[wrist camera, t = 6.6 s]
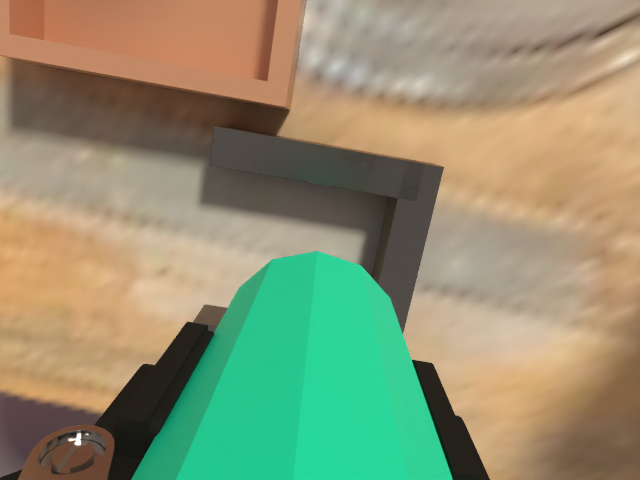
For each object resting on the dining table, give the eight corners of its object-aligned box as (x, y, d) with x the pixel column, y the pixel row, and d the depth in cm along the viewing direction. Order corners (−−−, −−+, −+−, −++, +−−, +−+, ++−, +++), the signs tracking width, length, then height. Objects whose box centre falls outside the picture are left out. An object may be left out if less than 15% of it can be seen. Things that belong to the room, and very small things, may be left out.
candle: (352, 221, 14) (471, 724, 2) (424, 367, 15) (730, 1160, 4) (196, 295, 15) (-320, 948, 3) (276, 428, 16) (134, 1230, 4)
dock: (431, 163, 24) (443, 167, 22) (384, 361, 28) (390, 384, 25) (225, 126, 24) (214, 126, 21) (201, 333, 27) (189, 353, 25)
